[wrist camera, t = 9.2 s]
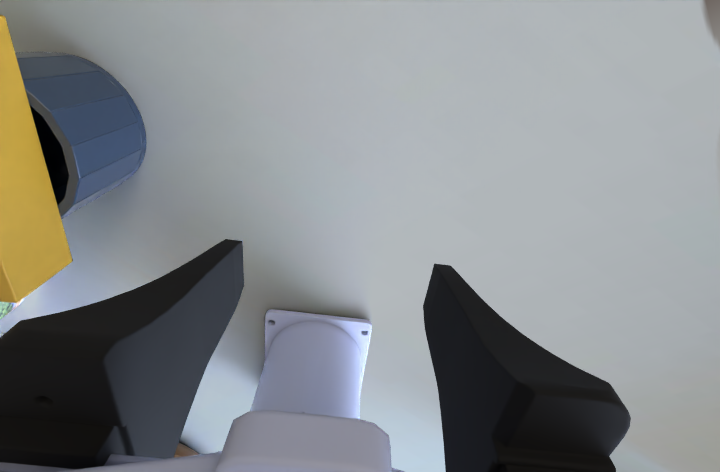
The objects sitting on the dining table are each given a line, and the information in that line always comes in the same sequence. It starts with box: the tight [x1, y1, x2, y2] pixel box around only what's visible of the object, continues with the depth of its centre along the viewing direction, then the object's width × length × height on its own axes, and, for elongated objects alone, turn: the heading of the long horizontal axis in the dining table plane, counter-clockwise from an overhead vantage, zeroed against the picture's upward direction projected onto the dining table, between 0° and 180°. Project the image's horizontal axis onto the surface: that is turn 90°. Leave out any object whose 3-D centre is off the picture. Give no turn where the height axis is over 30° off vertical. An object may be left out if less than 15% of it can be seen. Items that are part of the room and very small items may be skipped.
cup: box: [15, 52, 146, 219], centre depth 19 cm, size 8×8×6 cm
